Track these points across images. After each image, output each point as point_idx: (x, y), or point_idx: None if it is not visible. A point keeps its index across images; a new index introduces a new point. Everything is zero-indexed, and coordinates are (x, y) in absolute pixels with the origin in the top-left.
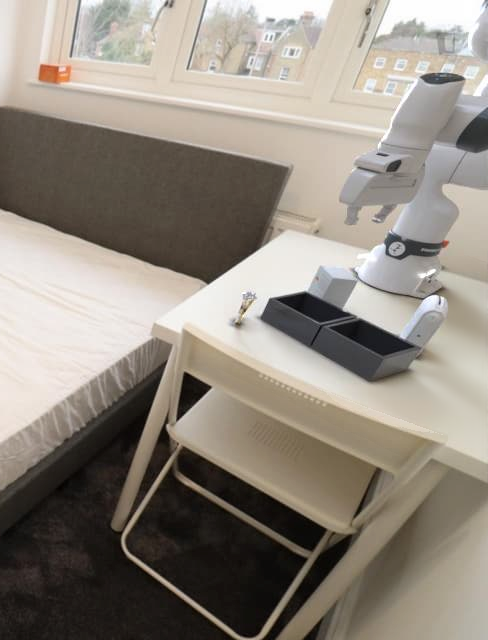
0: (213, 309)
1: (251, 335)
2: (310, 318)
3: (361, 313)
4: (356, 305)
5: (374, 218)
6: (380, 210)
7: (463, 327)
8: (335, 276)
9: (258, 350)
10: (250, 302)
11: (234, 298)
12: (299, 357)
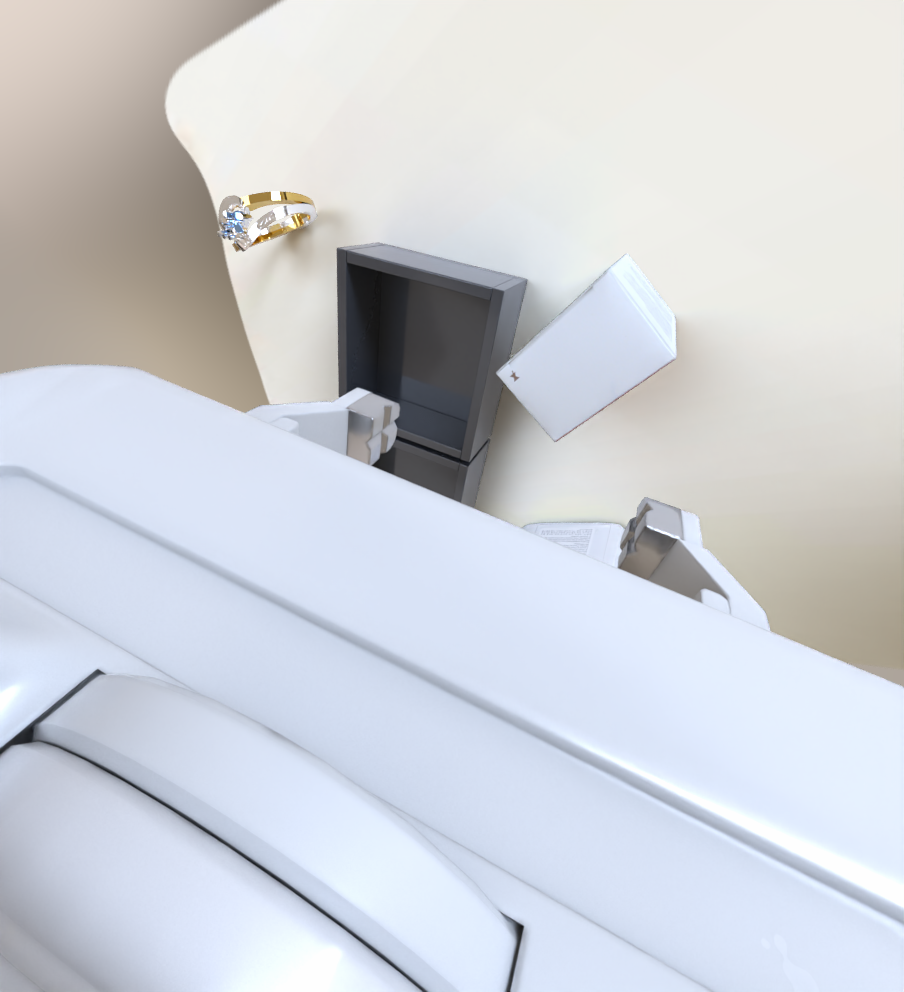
0: (292, 110)
1: (293, 286)
2: (343, 386)
3: (713, 425)
4: (788, 395)
5: (643, 513)
6: (692, 562)
7: (872, 639)
8: (518, 373)
9: (266, 332)
10: (234, 246)
11: (419, 74)
12: (321, 397)
